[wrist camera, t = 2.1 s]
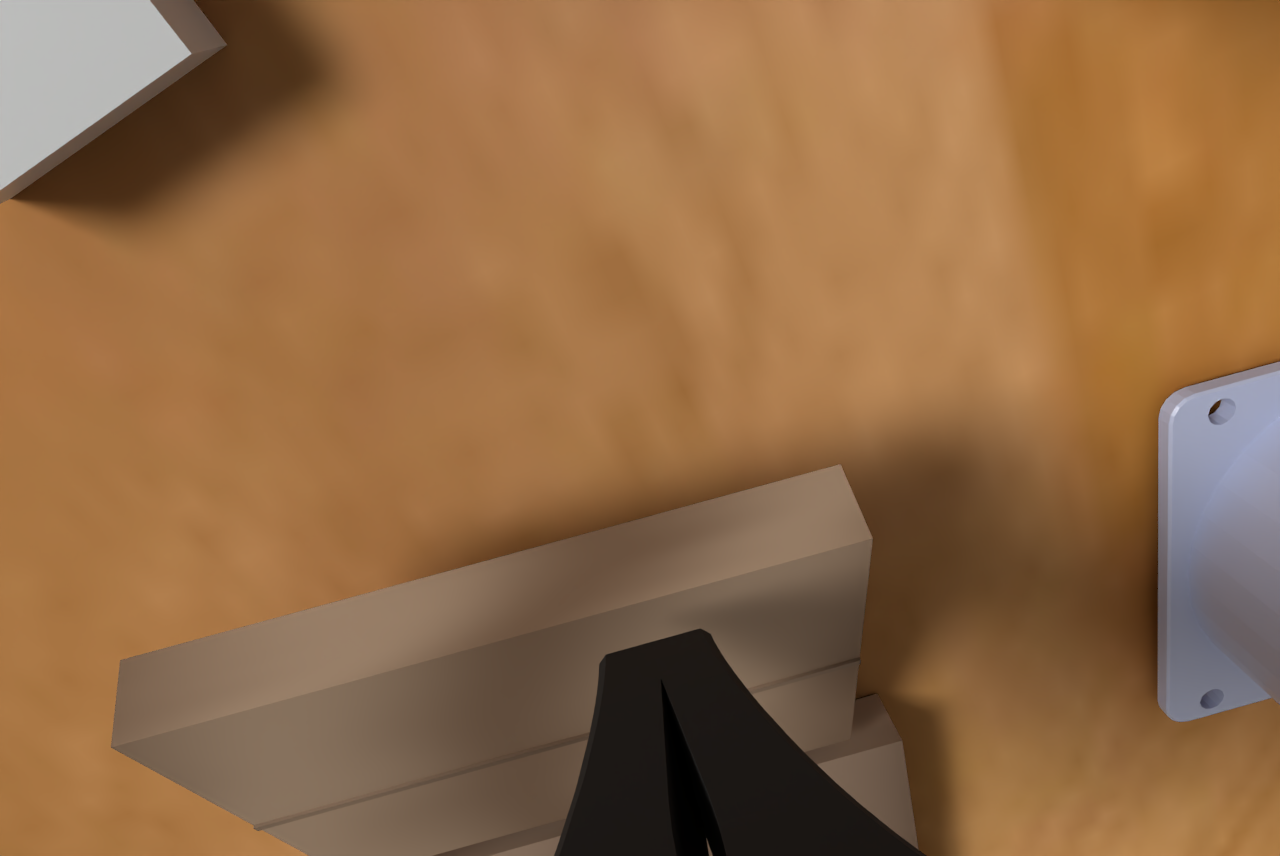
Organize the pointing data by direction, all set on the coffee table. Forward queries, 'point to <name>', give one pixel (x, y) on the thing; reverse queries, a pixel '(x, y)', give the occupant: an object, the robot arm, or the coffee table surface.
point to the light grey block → (85, 72)
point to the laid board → (855, 764)
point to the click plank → (500, 673)
